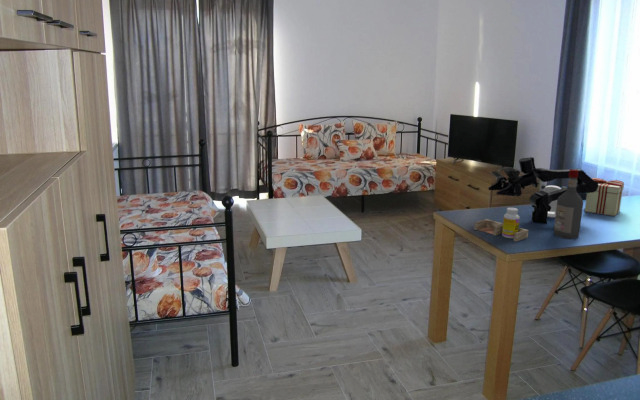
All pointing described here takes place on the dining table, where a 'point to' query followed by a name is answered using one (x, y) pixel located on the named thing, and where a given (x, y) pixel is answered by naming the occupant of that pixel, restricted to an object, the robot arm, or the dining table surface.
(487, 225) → the rack
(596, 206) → the gift box
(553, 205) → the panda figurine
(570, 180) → the liquor
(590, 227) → the dining table surface
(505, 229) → the supplement bottle
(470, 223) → the dining table surface
